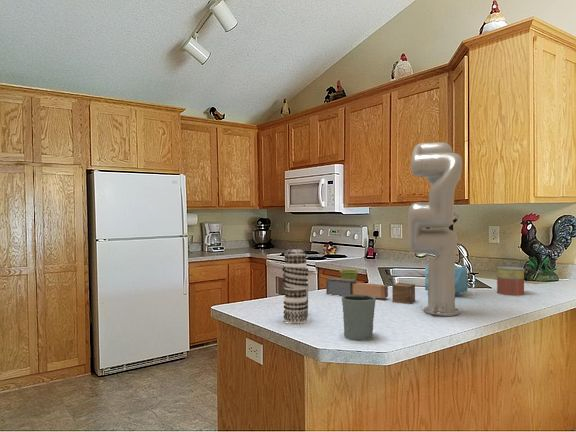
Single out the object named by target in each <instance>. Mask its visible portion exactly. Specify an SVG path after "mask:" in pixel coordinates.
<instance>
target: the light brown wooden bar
mask: <svg viewBox="0 0 576 432" xmlns="http://www.w3.org/2000/svg"><path fill="white" fill-rule="evenodd" d="M388 286H389V285H388V284H377V283H376V284H375V283H365V282H352V283H351V295H368V296H373V297H375V298H380V299H386V298H388V297H389V287H388Z"/></svg>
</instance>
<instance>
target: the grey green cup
mask: <svg viewBox="0 0 576 432" xmlns="http://www.w3.org/2000/svg"><path fill="white" fill-rule="evenodd" d="M376 300H377V298H376V297H373V296H368V295H344V296H341V304H342V313H343V315H342V316H343V334H344V338H346V339H348V340H350V341H351V340H352V341H370V339H373V335H374V332H373V331H374V320H375V307H376Z"/></svg>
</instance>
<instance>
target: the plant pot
mask: <svg viewBox="0 0 576 432" xmlns="http://www.w3.org/2000/svg"><path fill="white" fill-rule="evenodd" d="M339 273H340V276H341V277H340V278H347V279H357V276H358V273H359V270H357V269H342V270H341V269H340V270H339Z"/></svg>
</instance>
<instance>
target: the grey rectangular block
mask: <svg viewBox="0 0 576 432" xmlns="http://www.w3.org/2000/svg"><path fill="white" fill-rule="evenodd" d="M357 281H358V280H357V278H356V279H347V278H342V277H335V276H334V277H332V276H331V277H329V278H326V284H325V285H326V291H325V293H326V294H332V295H331V296H333V295H339V296H338V297H342V296H344V295H351V283H352V282H357ZM357 283H358V282H357ZM326 294H325V295H326Z"/></svg>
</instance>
